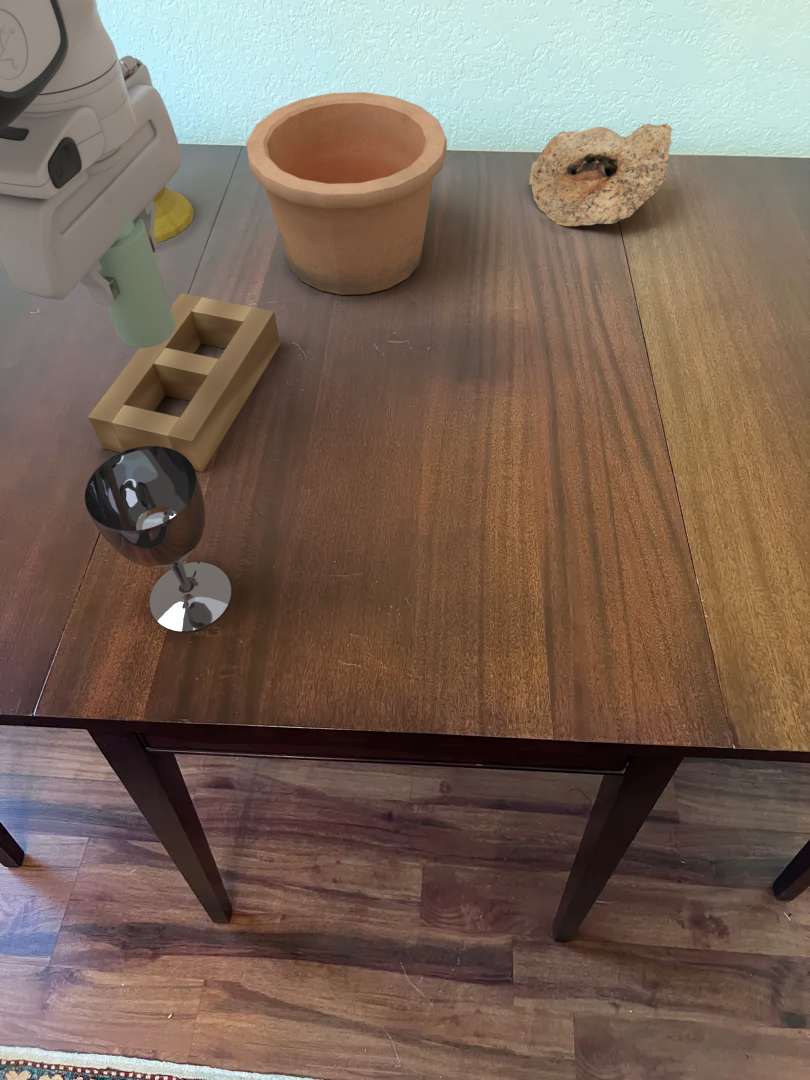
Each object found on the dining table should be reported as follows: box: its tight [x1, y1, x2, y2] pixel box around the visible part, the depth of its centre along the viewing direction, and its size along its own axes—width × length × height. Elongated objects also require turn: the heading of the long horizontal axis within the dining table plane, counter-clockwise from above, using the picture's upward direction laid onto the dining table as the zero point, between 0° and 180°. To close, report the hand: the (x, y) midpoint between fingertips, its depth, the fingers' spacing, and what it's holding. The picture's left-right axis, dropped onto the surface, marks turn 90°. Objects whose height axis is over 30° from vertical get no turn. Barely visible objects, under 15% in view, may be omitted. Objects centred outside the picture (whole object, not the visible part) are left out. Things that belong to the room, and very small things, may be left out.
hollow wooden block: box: [87, 292, 281, 473], centre depth 81 cm, size 11×20×4 cm, turn 163°
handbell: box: [153, 185, 195, 244], centre depth 92 cm, size 12×12×25 cm
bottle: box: [98, 213, 176, 349], centre depth 65 cm, size 5×5×15 cm
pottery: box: [246, 91, 448, 296], centre depth 91 cm, size 22×22×14 cm
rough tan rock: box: [528, 123, 673, 227], centre depth 101 cm, size 18×14×8 cm
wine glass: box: [84, 446, 233, 633], centre depth 62 cm, size 8×8×15 cm
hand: (127, 276), depth 66 cm, fingers closed on bottle, 5 cm apart
